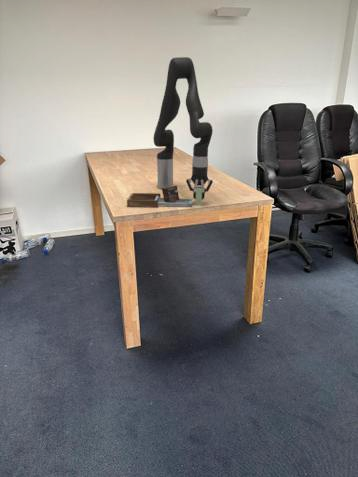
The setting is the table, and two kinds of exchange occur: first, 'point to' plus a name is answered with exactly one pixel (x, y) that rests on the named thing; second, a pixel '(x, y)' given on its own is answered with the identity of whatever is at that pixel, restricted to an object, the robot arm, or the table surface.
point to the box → (170, 193)
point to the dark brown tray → (143, 200)
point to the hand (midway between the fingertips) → (198, 199)
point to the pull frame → (183, 200)
